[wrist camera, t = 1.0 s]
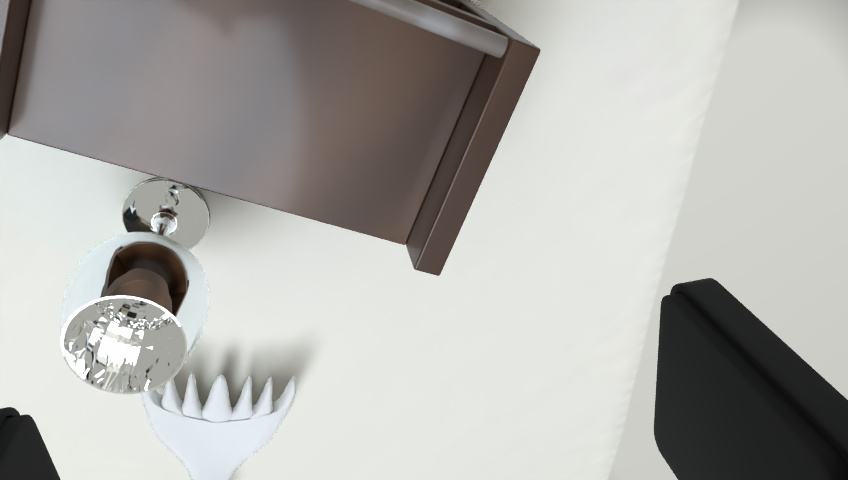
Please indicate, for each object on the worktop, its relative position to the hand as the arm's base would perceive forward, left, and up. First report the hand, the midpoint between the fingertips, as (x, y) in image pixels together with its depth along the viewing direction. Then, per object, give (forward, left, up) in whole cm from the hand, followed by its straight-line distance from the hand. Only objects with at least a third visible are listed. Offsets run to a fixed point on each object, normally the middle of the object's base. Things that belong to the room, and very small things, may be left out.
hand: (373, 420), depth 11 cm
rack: (-2, -1, -29) cm, 29 cm away
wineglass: (-4, -12, -29) cm, 31 cm away
